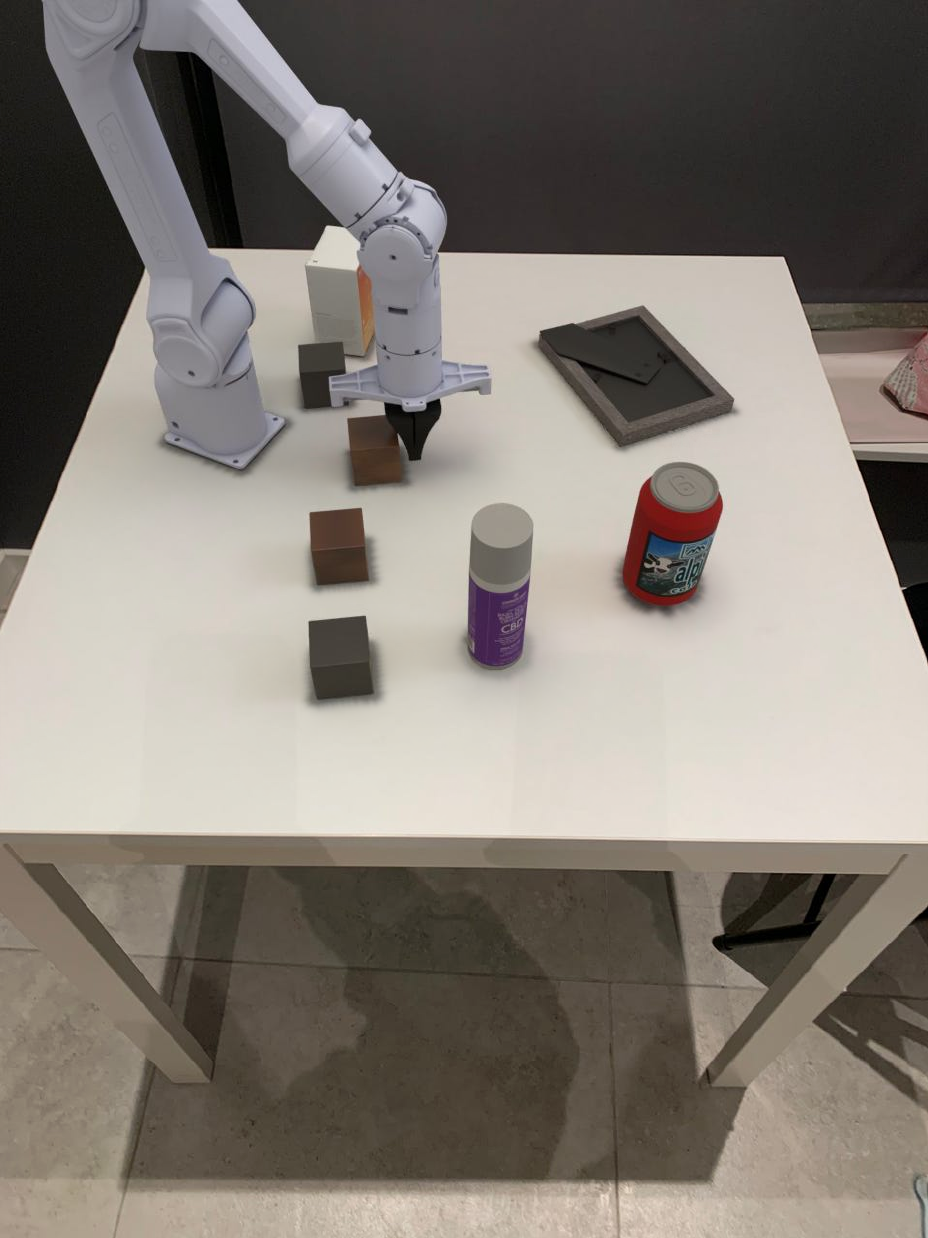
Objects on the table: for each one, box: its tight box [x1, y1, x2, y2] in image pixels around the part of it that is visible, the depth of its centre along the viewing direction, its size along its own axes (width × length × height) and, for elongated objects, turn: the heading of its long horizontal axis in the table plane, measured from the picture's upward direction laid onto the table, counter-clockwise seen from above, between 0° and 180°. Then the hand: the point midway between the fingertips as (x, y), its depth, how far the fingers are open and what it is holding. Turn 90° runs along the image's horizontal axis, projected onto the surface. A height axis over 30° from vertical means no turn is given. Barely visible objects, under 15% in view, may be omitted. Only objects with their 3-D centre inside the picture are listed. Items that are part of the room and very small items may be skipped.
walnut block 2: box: [346, 414, 403, 487], centre depth 90 cm, size 5×5×5 cm
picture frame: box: [537, 304, 736, 447], centre depth 100 cm, size 13×2×18 cm
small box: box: [304, 225, 375, 357], centre depth 100 cm, size 8×6×10 cm
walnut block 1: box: [308, 507, 370, 586], centre depth 82 cm, size 5×5×5 cm
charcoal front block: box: [307, 615, 375, 700], centre depth 75 cm, size 5×5×5 cm
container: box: [467, 502, 534, 671], centre depth 72 cm, size 5×5×15 cm
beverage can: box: [621, 461, 724, 607], centre depth 78 cm, size 7×7×12 cm
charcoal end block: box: [297, 342, 350, 409], centre depth 97 cm, size 5×5×5 cm
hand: (413, 453), depth 91 cm, fingers closed
